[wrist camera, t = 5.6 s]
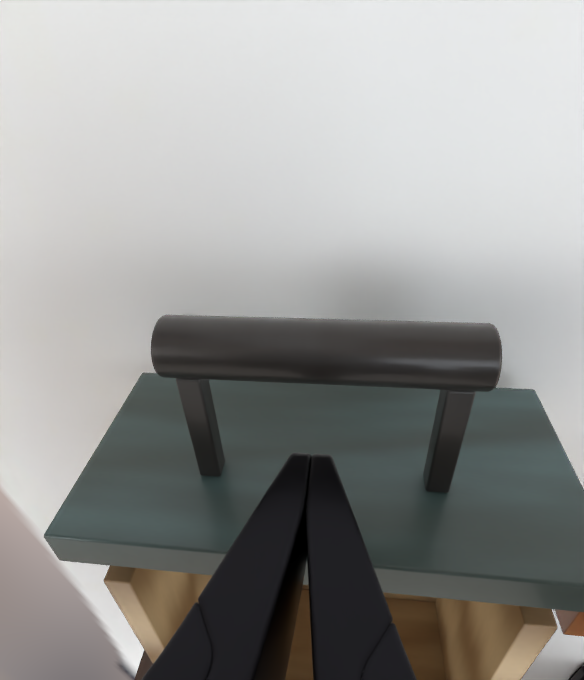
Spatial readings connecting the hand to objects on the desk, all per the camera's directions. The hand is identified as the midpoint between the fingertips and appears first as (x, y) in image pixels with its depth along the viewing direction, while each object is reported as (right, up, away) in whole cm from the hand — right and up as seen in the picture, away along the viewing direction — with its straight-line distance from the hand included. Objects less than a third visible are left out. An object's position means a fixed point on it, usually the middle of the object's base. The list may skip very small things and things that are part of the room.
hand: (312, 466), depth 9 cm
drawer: (+1, -2, +8) cm, 9 cm away
